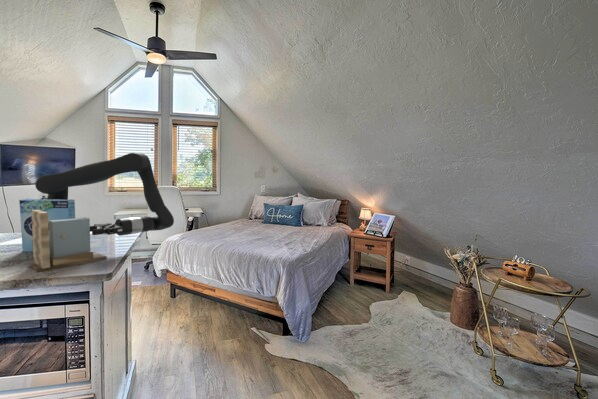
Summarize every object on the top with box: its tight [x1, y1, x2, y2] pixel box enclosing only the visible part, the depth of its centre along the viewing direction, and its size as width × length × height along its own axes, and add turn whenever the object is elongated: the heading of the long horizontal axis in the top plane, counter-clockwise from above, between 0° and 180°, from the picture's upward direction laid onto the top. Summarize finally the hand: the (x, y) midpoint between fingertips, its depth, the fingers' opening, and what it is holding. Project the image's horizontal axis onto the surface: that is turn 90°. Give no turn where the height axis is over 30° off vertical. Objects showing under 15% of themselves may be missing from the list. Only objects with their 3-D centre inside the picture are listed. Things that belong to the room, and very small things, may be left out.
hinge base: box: [28, 210, 108, 273], centre depth 118 cm, size 11×22×21 cm, turn 145°
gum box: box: [18, 198, 76, 253], centre depth 133 cm, size 20×5×23 cm, turn 97°
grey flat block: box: [49, 216, 91, 262], centre depth 118 cm, size 5×12×16 cm, turn 145°
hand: (88, 231), depth 123 cm, fingers open, 8 cm apart
